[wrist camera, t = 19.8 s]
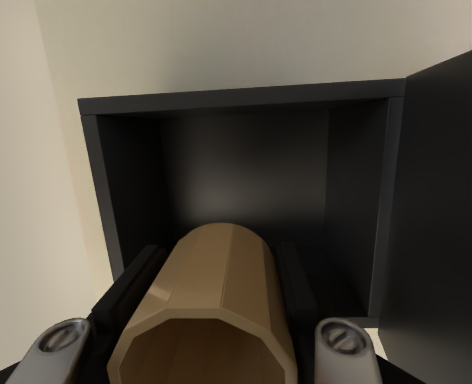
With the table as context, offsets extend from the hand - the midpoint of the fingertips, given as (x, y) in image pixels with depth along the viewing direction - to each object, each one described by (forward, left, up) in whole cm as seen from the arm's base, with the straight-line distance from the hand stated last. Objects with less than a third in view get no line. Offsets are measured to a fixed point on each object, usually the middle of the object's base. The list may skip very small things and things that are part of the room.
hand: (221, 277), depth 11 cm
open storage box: (+1, +1, -13) cm, 13 cm away
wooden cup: (0, 0, 0) cm, 0 cm away
